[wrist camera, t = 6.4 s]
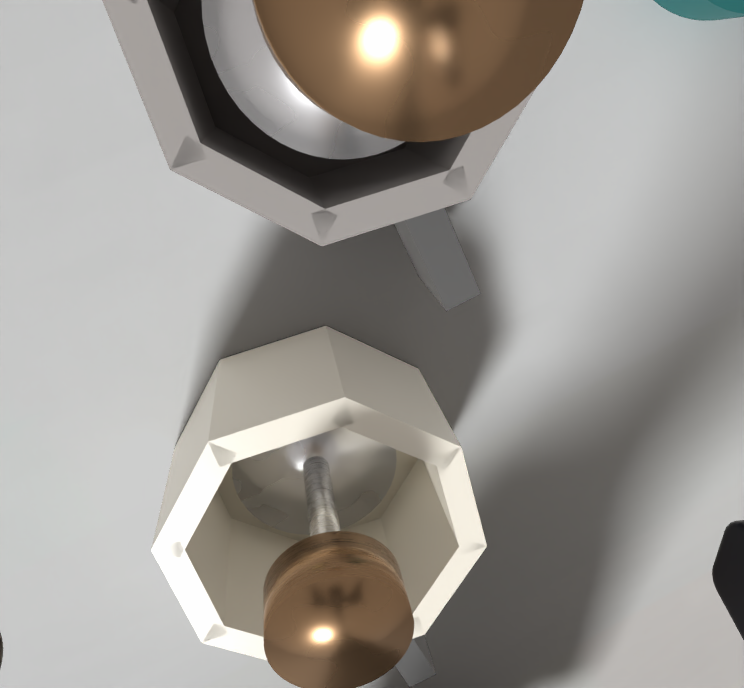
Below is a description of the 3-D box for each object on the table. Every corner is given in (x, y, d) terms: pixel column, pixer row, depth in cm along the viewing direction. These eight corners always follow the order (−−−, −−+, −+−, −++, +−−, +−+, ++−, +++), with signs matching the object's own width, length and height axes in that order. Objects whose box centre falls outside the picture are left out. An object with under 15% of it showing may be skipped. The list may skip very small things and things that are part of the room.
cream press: (517, 414, 24) (581, 498, 19) (397, 592, 26) (427, 707, 21) (253, 292, 20) (252, 357, 16) (143, 508, 23) (112, 622, 18)
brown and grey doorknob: (422, 424, 22) (497, 583, 15) (346, 544, 24) (383, 740, 17) (277, 361, 21) (287, 508, 14) (205, 495, 22) (180, 690, 15)
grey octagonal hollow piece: (579, 6, 19) (687, -19, 14) (423, 272, 21) (471, 328, 16) (242, -246, 15) (235, -391, 11) (102, 104, 18) (44, 113, 13)
